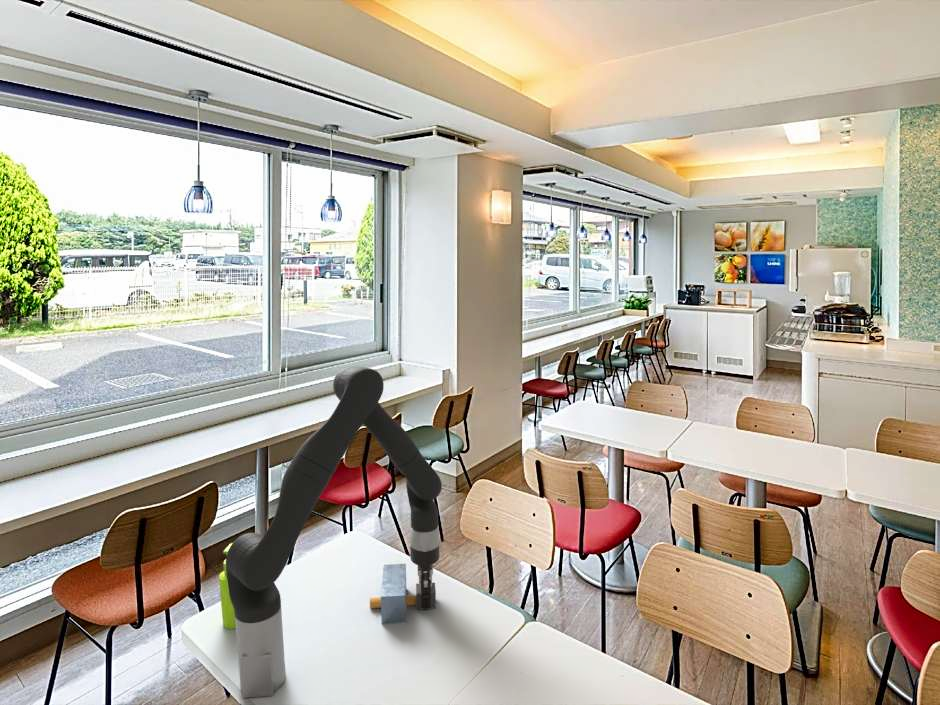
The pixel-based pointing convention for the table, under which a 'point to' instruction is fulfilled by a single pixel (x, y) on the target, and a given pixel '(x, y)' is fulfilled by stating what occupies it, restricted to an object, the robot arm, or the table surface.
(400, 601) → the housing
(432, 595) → the hammer
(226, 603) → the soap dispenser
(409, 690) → the table surface
